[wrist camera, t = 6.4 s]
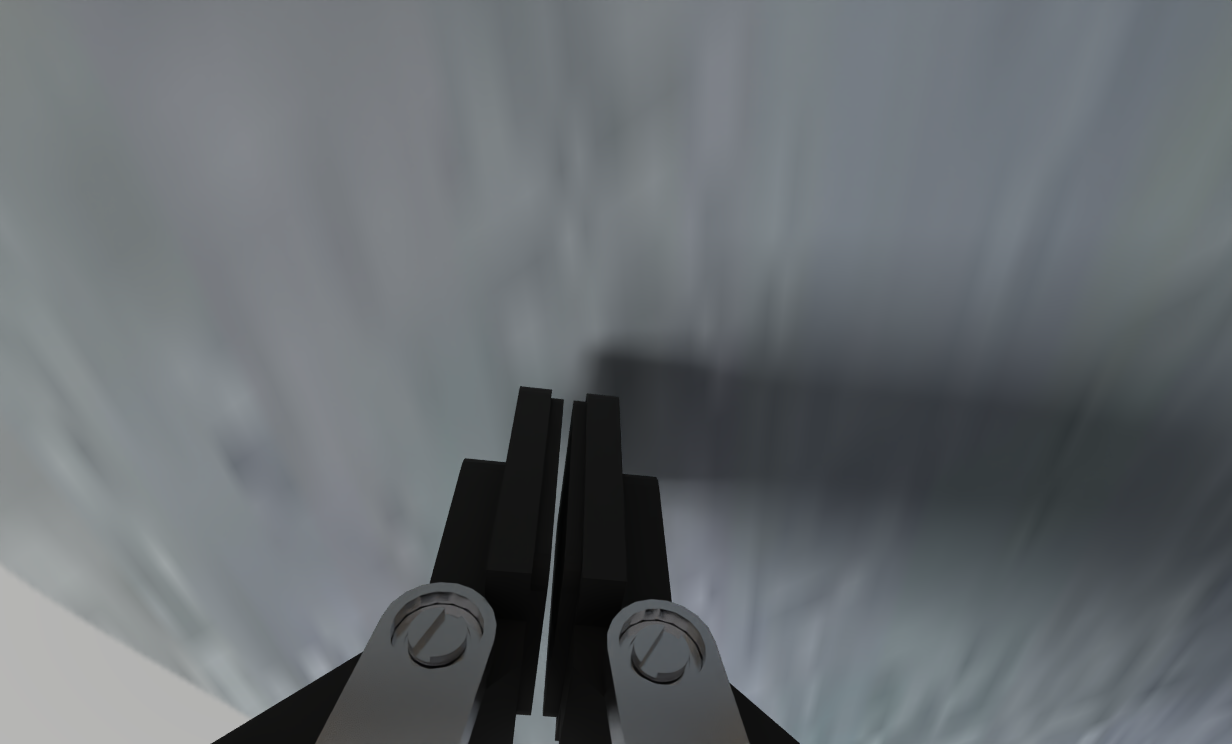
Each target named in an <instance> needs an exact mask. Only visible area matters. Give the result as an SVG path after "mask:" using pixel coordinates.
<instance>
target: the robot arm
mask: <svg viewBox="0 0 1232 744" xmlns="http://www.w3.org/2000/svg"><path fill="white" fill-rule="evenodd" d="M551 394H552V390H550V389H541V388H532V387H522V386H520V390H519V395H518V400H517V406H516V411H515V416H514V422H513V427H512V433H511V438H510V443H509V449H508V454H507V460H506V462H497V461H486V460H476V459H466V458H465V459H464V461H463V463H462V466H461V470H460V473H459V477H458V481H457V484H456V488H455V492H454V496H453V499H452V503H451V507H450V510H449V514H448V518H447V521H446V525H445V529H444V532H443V536H442V540H441V544H440V547H439V551H438V555H437V558H436V562H435V566H434V569H433V573H432V577H431V580H430V584H426V585H421V586H419V587H416V588H414V589H412V590H409V591H407V592H405V593H404V594H403V595H401V596H400V597H399V598H397V599H396V600H395V601H393V602H392V603H391V604H390V606H389V607H388V608H387V610H386V611H385V612H384V614H383V615H382V617H381V619H380V620H379V622H378V624H377V626H376V628H375V630H374V632H373V634H372V636H371V638H370V640H369V641H368V643H367V645H366V647H365V649H364V651H363V652H362V653H360V654H358V655H357V656H355V657H353V658H352V659H350V660H348V661H347V662H345V663H343V664H342V665H340V666H339V667H337V668H335V669H334V670H332V671H330V672H329V673H327V674H325V675H324V676H322V677H320V678H319V679H317V680H315V681H314V682H312V683H311V684H309V685H307V686H306V687H304V688H302V689H301V690H299V691H297V692H296V693H294V694H292V695H291V696H289V697H287V698H286V699H284V700H282V701H281V702H279V703H278V704H276V705H274V706H273V707H271V708H269V709H268V710H266V711H264V712H263V713H261V714H259V715H258V716H256V717H254V718H253V719H251V720H249V721H248V722H246V723H245V724H243V725H241V726H240V727H238V728H236V729H235V730H233V731H231V732H230V733H228V734H226V735H225V736H223V737H221V738H220V739H218V740H216V741H215V742H213V743H212V744H513V736H514V727H515V718H516V714H518V715H531V710H532V703H533V695H534V688H535V680H536V673H537V665H538V657H539V650H540V642H541V635H542V627H543V620H544V612H545V604H546V597H547V589H548V581H549V571H550V561H551V550H552V537H553V525H554V513H555V501H556V488H557V476H558V464H559V452H560V439H561V427H562V415H563V403H564V399H554V398H551ZM543 716H549V717H556V732H555V741H559V744H800V743H799V742H797V741H796V740H795V739H794V738H793V737H792V736H791V735H789V734H788V733H787V732H786V731H785V730H784V729H782V728H781V727H780V726H779V725H778V724H777V723H775V722H774V721H773V720H772V719H771V718H770V717H769V716H767V715H766V714H765V713H764V712H763V711H762V710H760V709H759V708H758V707H757V706H756V705H755V704H753V703H752V702H751V701H750V700H749V699H748V698H747V697H745V696H744V695H743V694H742V693H741V692H740V691H738V690H737V689H736V688H735V687H734V686H733V685H731V684H730V683H729V680H728V677H727V674H726V671H725V668H724V665H723V663H722V660H721V657H720V654H719V651H718V648H717V645H716V642H715V640H714V638H713V636H712V634H711V632H710V630H709V628H708V627H707V626H706V625H705V623H704V622H703V621H702V620H701V619H700V618H699V617H698V616H697V615H696V614H694V613H693V612H691V611H690V610H688V609H686V608H685V607H683V606H681V605H678V604H675V603H672V600H671V591H670V582H669V572H668V563H667V554H666V545H665V536H664V527H663V518H662V509H661V500H660V491H659V484H658V480H657V478H656V477H650V476H640V475H629V474H622V453H621V430H620V407H619V397H615V396H606V395H596V394H587V396H586V402H582V401H574V402H573V409H572V416H571V424H570V431H569V439H568V446H567V454H566V461H565V469H564V476H563V484H562V491H561V499H560V506H559V514H558V522H557V532H556V543H555V557H554V570H553V583H552V596H551V610H550V623H549V636H548V649H547V662H546V676H545V689H544V702H543Z"/></svg>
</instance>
